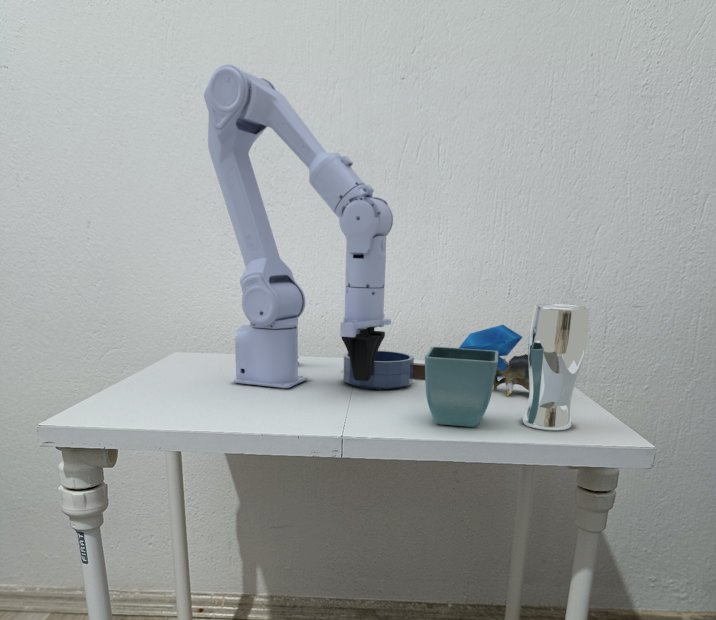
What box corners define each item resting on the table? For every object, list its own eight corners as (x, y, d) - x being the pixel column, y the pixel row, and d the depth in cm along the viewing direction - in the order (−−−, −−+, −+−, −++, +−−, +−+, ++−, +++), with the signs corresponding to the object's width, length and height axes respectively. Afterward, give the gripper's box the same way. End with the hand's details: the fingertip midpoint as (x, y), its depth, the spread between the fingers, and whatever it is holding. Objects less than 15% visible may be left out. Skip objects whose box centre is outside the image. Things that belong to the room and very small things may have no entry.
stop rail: (345, 372, 117) (346, 358, 116) (348, 370, 118) (349, 357, 117) (434, 380, 112) (435, 366, 111) (436, 379, 113) (437, 365, 112)
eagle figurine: (477, 387, 102) (533, 385, 96) (485, 345, 103) (541, 341, 98) (496, 407, 107) (550, 406, 102) (504, 367, 109) (557, 364, 104)
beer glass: (512, 417, 89) (525, 303, 84) (562, 417, 90) (578, 304, 85) (529, 431, 83) (544, 308, 78) (582, 431, 84) (601, 309, 78)
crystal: (452, 330, 121) (519, 318, 118) (459, 377, 124) (525, 366, 121) (450, 336, 114) (521, 323, 111) (458, 385, 117) (527, 373, 114)
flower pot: (491, 433, 81) (498, 360, 78) (419, 428, 83) (424, 356, 80) (491, 416, 89) (498, 350, 86) (426, 411, 91) (431, 346, 88)
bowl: (333, 386, 105) (333, 358, 103) (356, 374, 115) (357, 348, 113) (401, 393, 102) (402, 364, 100) (419, 380, 112) (420, 353, 110)
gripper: (376, 291, 88) (372, 391, 93) (404, 285, 101) (400, 374, 106) (326, 288, 90) (325, 386, 95) (361, 283, 103) (358, 370, 108)
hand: (361, 379), depth 100 cm, fingers closed
